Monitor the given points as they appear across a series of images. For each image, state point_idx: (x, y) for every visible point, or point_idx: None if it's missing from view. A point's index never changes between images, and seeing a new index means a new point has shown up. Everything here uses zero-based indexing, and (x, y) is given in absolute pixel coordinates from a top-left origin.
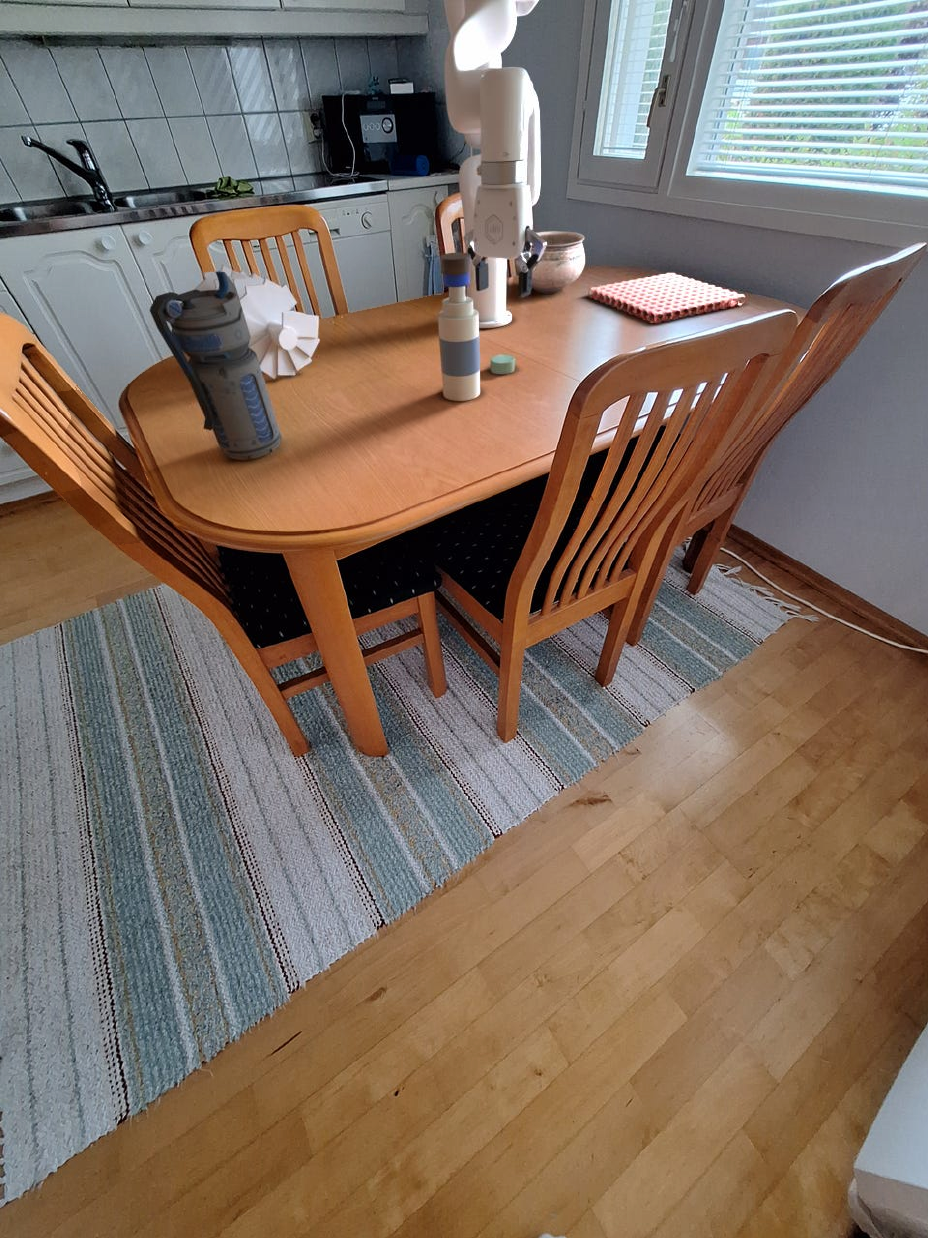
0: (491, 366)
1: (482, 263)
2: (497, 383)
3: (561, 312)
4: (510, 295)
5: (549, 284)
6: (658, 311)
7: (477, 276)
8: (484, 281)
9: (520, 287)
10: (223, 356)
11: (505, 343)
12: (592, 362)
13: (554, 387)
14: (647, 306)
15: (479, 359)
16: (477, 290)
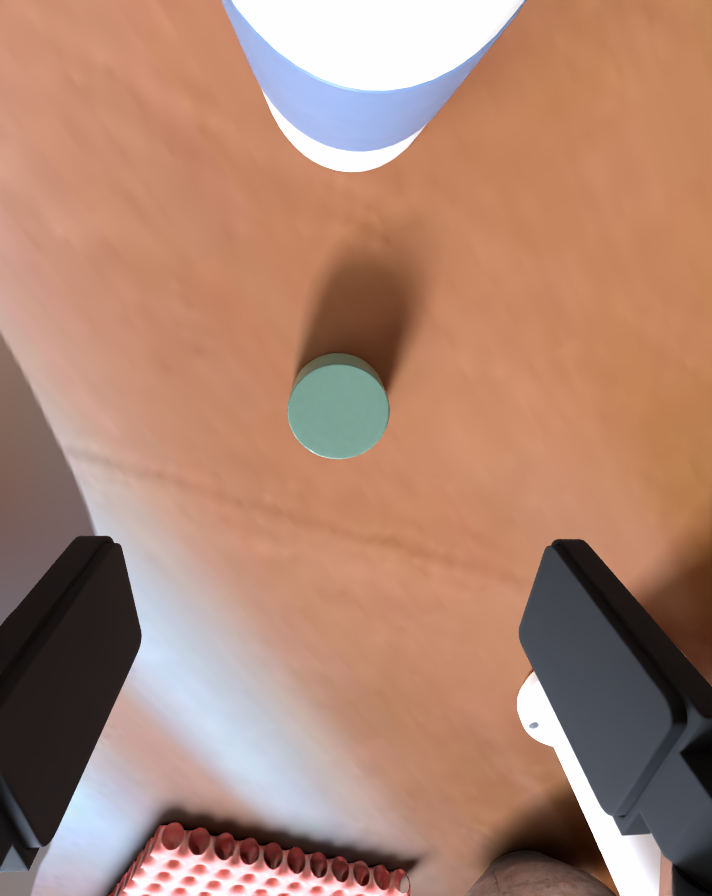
0: (366, 366)
1: (674, 800)
2: (274, 267)
3: (416, 793)
4: None
5: (504, 878)
6: (174, 861)
7: (634, 622)
8: (554, 639)
9: (44, 590)
10: None
11: (453, 586)
12: None
13: (59, 349)
14: (211, 870)
15: (241, 46)
16: (568, 539)
